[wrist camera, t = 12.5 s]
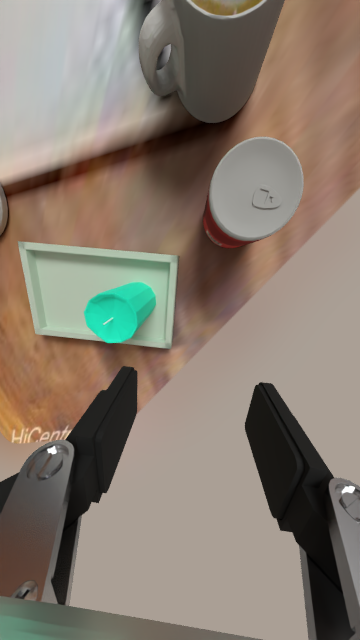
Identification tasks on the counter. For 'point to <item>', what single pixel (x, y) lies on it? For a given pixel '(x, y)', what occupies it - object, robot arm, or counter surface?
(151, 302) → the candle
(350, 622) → the robot arm
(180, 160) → the counter surface
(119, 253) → the tray
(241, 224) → the canned food
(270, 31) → the coffee mug
